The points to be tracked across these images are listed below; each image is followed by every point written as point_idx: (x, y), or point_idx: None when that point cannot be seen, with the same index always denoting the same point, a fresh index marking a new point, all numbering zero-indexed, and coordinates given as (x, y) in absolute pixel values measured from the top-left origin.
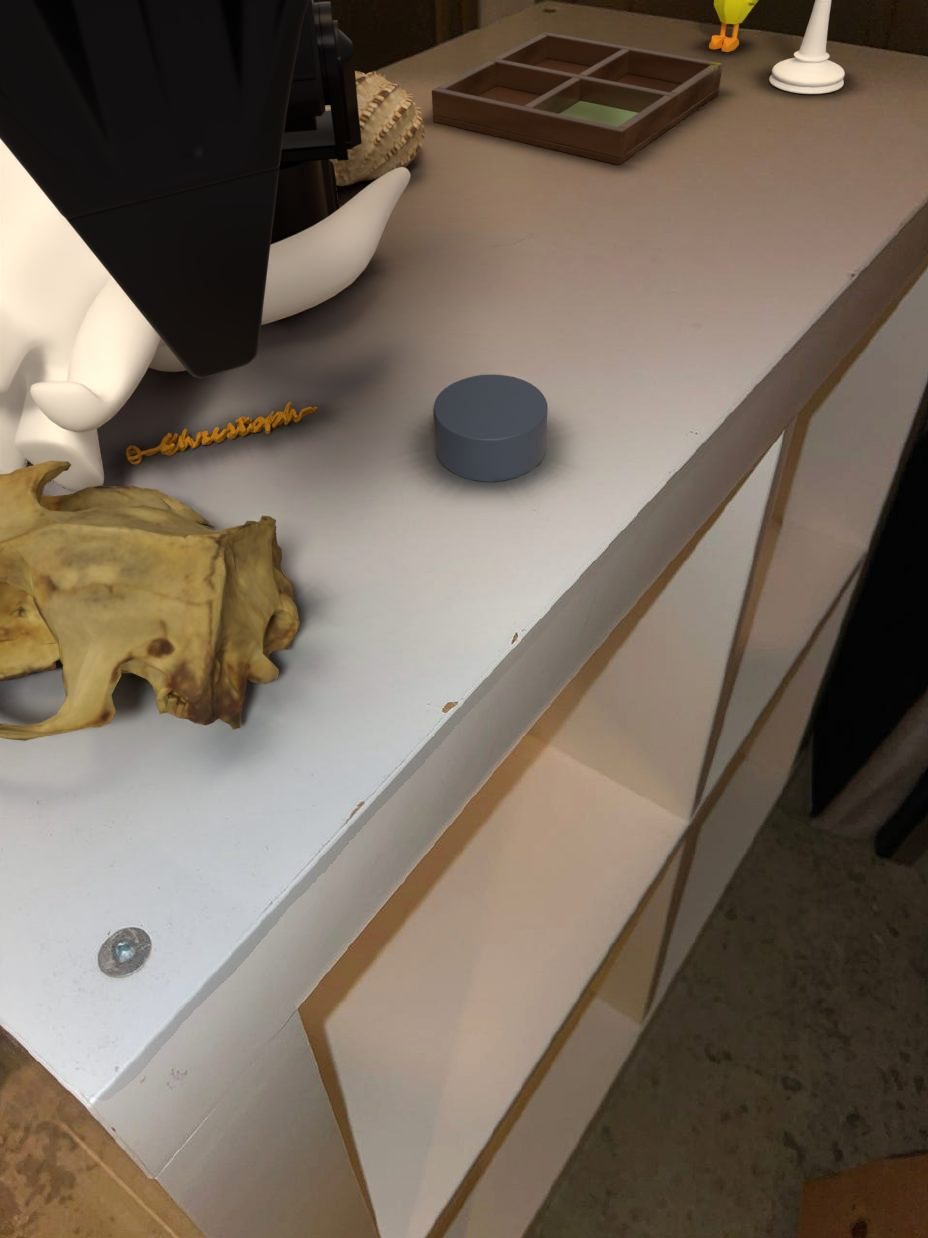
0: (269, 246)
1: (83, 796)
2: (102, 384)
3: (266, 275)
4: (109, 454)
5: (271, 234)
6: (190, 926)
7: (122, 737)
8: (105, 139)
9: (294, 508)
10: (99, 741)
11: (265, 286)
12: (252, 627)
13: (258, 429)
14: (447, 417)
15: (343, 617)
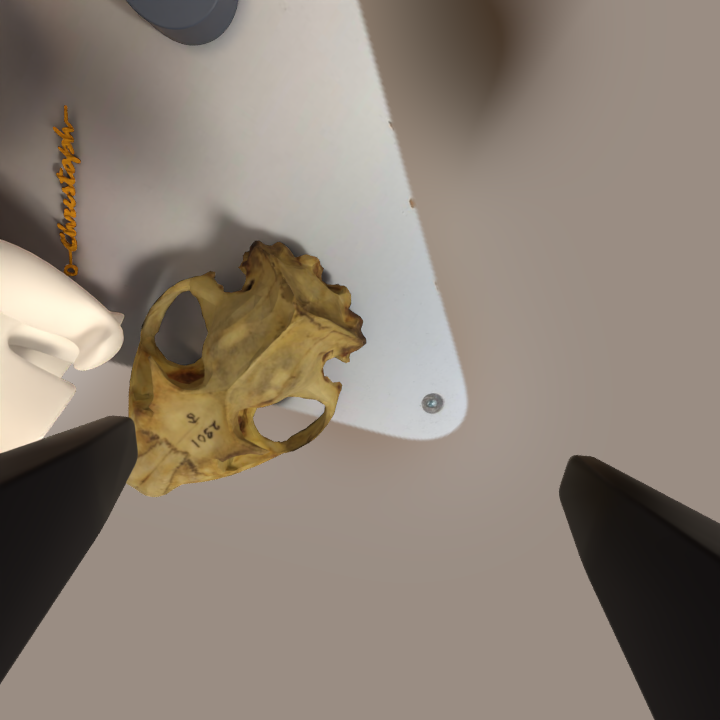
0: (696, 511)
1: (344, 392)
2: (89, 320)
3: (665, 495)
4: None
5: (713, 520)
6: (440, 377)
7: None
8: None
9: (183, 190)
10: None
11: (652, 488)
12: (333, 300)
13: (73, 167)
14: (165, 16)
15: (307, 218)
